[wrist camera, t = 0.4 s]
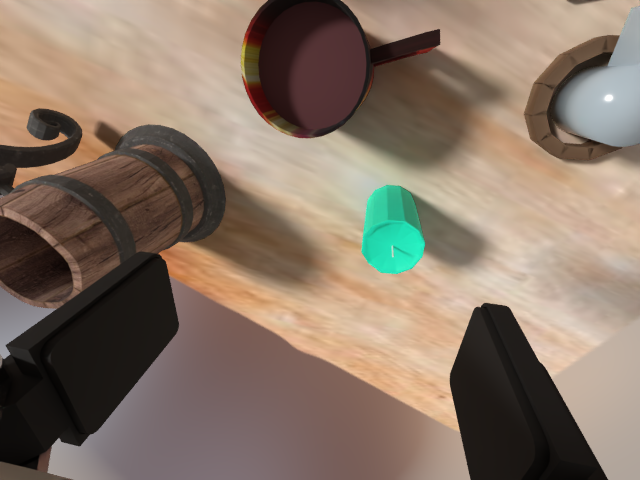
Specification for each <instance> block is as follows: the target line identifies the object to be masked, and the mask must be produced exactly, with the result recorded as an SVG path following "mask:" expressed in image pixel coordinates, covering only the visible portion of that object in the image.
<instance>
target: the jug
mask: <svg viewBox="0 0 640 480" xmlns="http://www.w3.org/2000/svg"><path fill="white" fill-rule="evenodd" d="M551 117H552V120H553V122H554V124H555V125H556V126H557V127H558V128H559V129H561V130H562V131H565V132H568V133H571V134H574V135H578V136H581V137H584V138H588V139H591V140H594V141H597V142H601V143H604V144H607V145H611V146H616V147H626V146H633V145H637V144H640V6H637V7H634V8H631V10H630V12H629V15H628V17H627V20H626V22H625V25H624V27H623V29H622V32H621V34H620V37H619V39H618V42H617V44H616V47H615V49H614V51H613V54H612V56H611V59H610V61H609V64H608V66H594V67H589V68H585V69H583V70H580V71H578V72H577V73H575V74H573V75H572V76H570V77H569V78H568V79H567V80H566V81H565V82H564V83H563V84H562V85H561V86H560V87H559V89H558V90H557V92H556V93H555V95H554V98H553V100H552V104H551Z"/></svg>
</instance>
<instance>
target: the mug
mask: <svg viewBox="0 0 640 480" xmlns="http://www.w3.org/2000/svg"><path fill="white" fill-rule="evenodd" d="M438 45H440V29H438V30H434V31H429V32H425V33H422V34H419V35H416V36H412V37H409V38H406V39H402V40H399V41H396V42H392V43H389V44H386V45H383V46H379V47H376V48H373V49H371V47H370V45H369V42H368V40H367V38H366V35H365V33H364V31H363V29H362V27H361V25H360V23H359V21H358V19H357V17H356V16H355V15H354V14H353V12H352V11H351V10H350V9H349V7H348V6H347V5H346V4H344V3H343V2H342V1H341V0H268V1H267V2H266V3H265V4H264V5H263V6H261V7H260V8H259V10H258V11H257V13H256V14H255V16H254V17H253V18H252V20H251V22H250V24H249V26H248V29H247V31H246V33H245V37H244V41H243V45H242V53H241V69H242V78H243V82H244V85H245V89H246V92H247V94H248V96H249V99H250V101H251V103H252V105H253V106H254V108H255V109H256V111H257V112H258V114H259V115H260V116H261V117H262V118H263V119H264V120H265V121H266V122H267V123H268V124H270V125H271V126H272V127H274V128H275V129H276V130H278V131H280V132H282V133H284V134H287V135H290V136H294V137H298V138H315V137H320V136H324V135H326V134H329V133H331V132H333V131H335V130H336V129H338V128H339V127H341V126H342V125H344V124H345V123H346V122H347V121H348V120H349V119H350V118H351V117H352V116H353V114H354V113H355V112H356V111H357V109H358V108H359V107H360V105H361V104H362V103H363V101H364V100H365V98H366V97H367V95H368V93H369V91H370V89H371V86H372V82H373V78H374V67H375V66H379V65H382V64H386V63H389V62H393V61H396V60H400V59H403V58H407V57H410V56H414V55H418V54H422V53H427V52H429V51H430V50H432V49H433V48H435V47H437V46H438Z"/></svg>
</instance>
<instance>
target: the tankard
mask: <svg viewBox="0 0 640 480" xmlns="http://www.w3.org/2000/svg"><path fill="white" fill-rule="evenodd" d="M27 129H28V131H29V133H30V134H32V135H33V136H34V137H36V138H38V139H41V140H53V139H55V138H57V137H58V136H59V133H60V132H61V133H62V134H64V135H65V136H66V137H67V138H68V139H67V140H65V141H63V142H60V143H57V144H54V145H48V146H42V147H14V146H6V145H0V195H3V196H4V197H2V198H0V286H1V287H2V288H3V289H4V290H6V291H7V292H8V293H10V294H11V295H13V296H14V297H16V298H18V299H19V300H21V301H23V302H25V303H28V304H30V305H33V306H37V307H43V308H55V309H58V308H59V307H61V306H62V305H63V304H65V303H66V302H68V301H69V300H70V299H72V298H73V297H75V296H76V295H78V294H79V293H80V292H82V291H83V290H85V289H86V288H87V287H89V286H90V285H92V284H93V283H94V282H96V281H97V280H99V279H100V278H102V277H103V276H104V275H106V274H107V273H109V272H110V271H111V270H113V269H114V268H116V267H117V266H119V265H120V264H121V263H123V262H124V261H126V260H127V259H128V258H130V257H131V256H133V255H134V254H135V253H137V252H140V251H143V252H149V253H156V254H158V253H159V252H161V251H162V250H165V249H168V248H170V247H172V246H173V245H175V244H176V243H178V242H194V241H198V240H201V239H204V238H205V237H207V236H209V235H210V234H212V233H213V231H214V230H215V229H216V228H217V227H218V226H219V224H220V222H221V220H222V218H223V215H224V211H225V201H226V198H225V190H224V185H223V182H222V179H221V176H220V174H219V172H218V170H217V168H216V166H215V164H214V163H213V161H212V160H211V158H210V157H209V156H208V154H207V153H206V152H205V151H204V150H203V149H202V148H201V147H200V146H199V145H198V144H197V143H196V142H195V141H193V140H192V139H191V138H189V137H188V136H186V135H185V134H183V133H181V132H179V131H177V130H175V129H173V128H169V127H165V126H161V125H144V126H139V127H136V128H134V129H132V130H130V131H128V132H127V133H126V134H125V135H124V136H123V137H122V138H121V139H120V141H119V142H118V144H117V145H116V147H115V151H113V152H110V153H107V154H105V155H103V156H101V157H99V158H98V159H97V160H95V161H93V162H90V163H87V164H84V165H81V166H78V167H75V168H73V169H70V170H67V171H64V172H61V173H58V174H55V175H47V176H41V177H38V178H35V179H32V180H29V181H27V182H24V183H22V184H20V185H18V186H17V187H16V188H15V189H14V188H13V187H12V185H13V182H14V178H15V174H16V170H17V168H29V167H38V166H44V165H48V164H52V163H55V162H58V161H61V160H63V159H66V158H67V157H69V156H70V155H72V154H73V153H74V152H75V151H76V149H77V148H78V146H79V143H80V140H81V138H82V129H81V127H80V126H79V125H78V123H77V122H76V121H75V120H73V119H72V118H70V117H69V116H67V115H65V114H63V113H60V112H57V111H53V110H49V109H36V110H33V111H32V112H31V113H30V117H29V120H28V124H27Z"/></svg>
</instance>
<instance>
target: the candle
mask: <svg viewBox="0 0 640 480" xmlns="http://www.w3.org/2000/svg"><path fill="white" fill-rule="evenodd" d="M424 247H425V241H424V237H423V233H422V229H421V225H420V221H419V217H418V213H417V209H416V205H415V202H414V200H413V198H412V195H411V193H410V192H408V191H407V190H405V189H404V188H402V187H401V186H393V185H386V186H384V187H381V188H379V189H377V190H375V191H374V192H373V194H372V195H371V196H370V198H369V199H368V201H367V209H366V217H365V225H364V232H363V242H362V254H363V255H364V257H365V258H366V260H367V262H368V263H369V264H370V265H372V266H373V267H374V268H376V269H377V270H378V271H379V272H381V273H391V274H398V273H401V272H404V271H407V270H409V269H412V268H413V267H414V266H415V265H416V263H417V262H418V261H419V260H420V259H421V258H422V256H423V251H424Z"/></svg>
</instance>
